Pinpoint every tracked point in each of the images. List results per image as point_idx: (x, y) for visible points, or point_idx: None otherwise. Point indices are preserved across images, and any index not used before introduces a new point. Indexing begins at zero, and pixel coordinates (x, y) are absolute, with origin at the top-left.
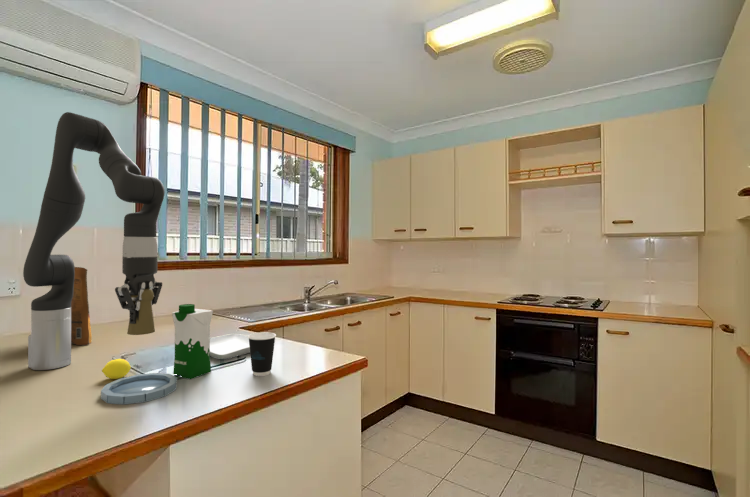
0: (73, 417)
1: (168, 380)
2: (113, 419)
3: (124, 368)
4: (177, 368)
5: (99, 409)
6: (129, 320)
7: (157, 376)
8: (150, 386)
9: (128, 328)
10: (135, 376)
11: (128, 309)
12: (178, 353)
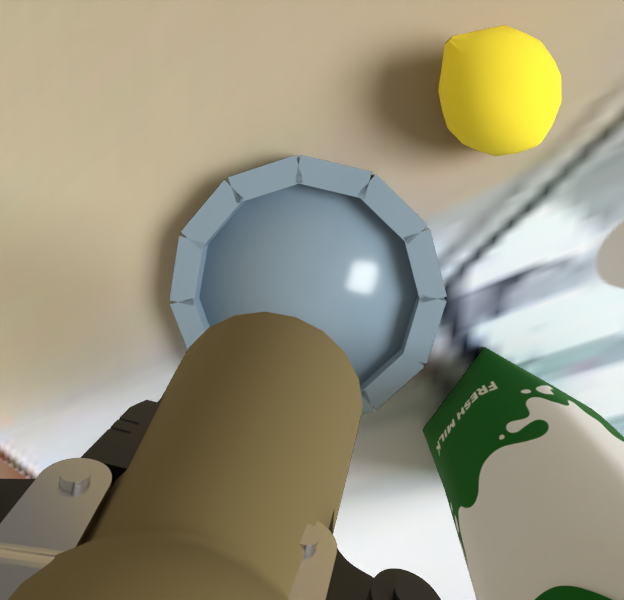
0: (75, 183)
1: (376, 372)
2: (72, 320)
3: (473, 146)
4: (466, 388)
5: (139, 233)
6: (125, 412)
7: (411, 319)
8: (318, 326)
9: (191, 353)
10: (402, 232)
11: (24, 486)
12: (468, 438)
